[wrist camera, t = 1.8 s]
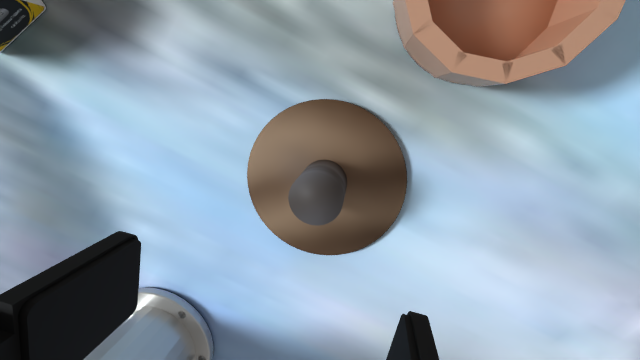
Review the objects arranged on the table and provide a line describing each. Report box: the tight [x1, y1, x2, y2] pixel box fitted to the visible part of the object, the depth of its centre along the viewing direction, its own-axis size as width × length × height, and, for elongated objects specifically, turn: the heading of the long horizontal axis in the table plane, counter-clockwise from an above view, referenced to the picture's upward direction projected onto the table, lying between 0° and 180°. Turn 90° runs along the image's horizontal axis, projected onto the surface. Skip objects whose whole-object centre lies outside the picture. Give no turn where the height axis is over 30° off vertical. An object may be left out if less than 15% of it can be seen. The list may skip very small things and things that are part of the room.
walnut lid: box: [247, 99, 407, 255], centre depth 26 cm, size 14×14×6 cm
